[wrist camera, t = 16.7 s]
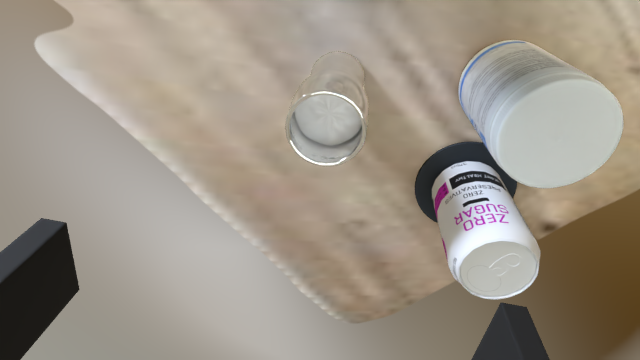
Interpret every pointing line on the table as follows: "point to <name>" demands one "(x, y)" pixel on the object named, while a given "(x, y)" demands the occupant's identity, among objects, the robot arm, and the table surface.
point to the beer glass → (329, 111)
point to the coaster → (447, 159)
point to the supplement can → (484, 232)
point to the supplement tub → (539, 114)
